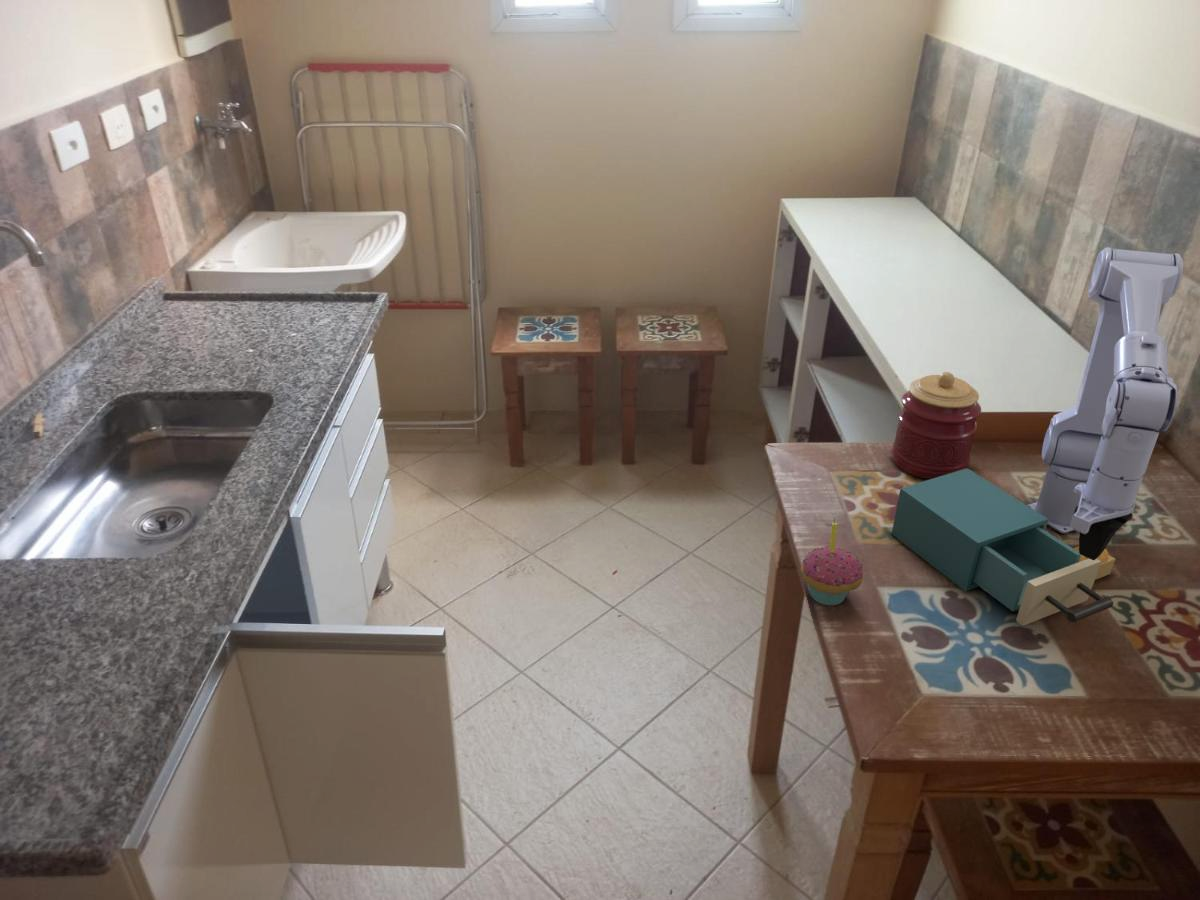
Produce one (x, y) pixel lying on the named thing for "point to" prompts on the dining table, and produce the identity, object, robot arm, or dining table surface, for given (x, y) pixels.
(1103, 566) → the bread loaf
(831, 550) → the cupcake
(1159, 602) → the dining table surface
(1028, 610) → the drawer
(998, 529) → the cabinet
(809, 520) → the dining table surface
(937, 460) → the kitchen canister
